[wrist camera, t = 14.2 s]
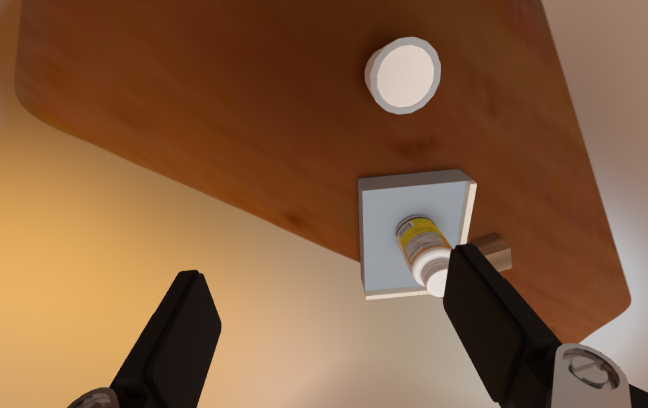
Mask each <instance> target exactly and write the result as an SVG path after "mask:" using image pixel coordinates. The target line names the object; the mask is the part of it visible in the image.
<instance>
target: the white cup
mask: <svg viewBox="0 0 648 408" xmlns="http://www.w3.org/2000/svg"><path fill="white" fill-rule="evenodd" d="M440 72H441V64H440V61H439V58H438V55H437V52H436V51H435V50H434V48H433V47H432V46H431V45H430V44H429V43H428V42H427V41H424V40H422V39H419V38H416V37H407V38H399V39H397V40H395V41H394V42H392V43H390V44H388V45H386V46H384V47H383V48H381V49H379V50H378V51H376V52H374V54H373V55H372V56H371V57H370V59H369V60H368V62H367V65H366V68H365V82H366V85H367V87H368V89H369V91H370V93H371V94H372V96H373V97H374V99H375V101H376V102H377V103H378V104H379V105H380V106H381V107H382V108H383V109H385V110H386V111H388V112H392V113H395V114H406V113H412V112H414V111H416V110H418V109H419V108H421V107H423V106H424V105H425V104H426V103H427V102H428V101H429V100H430V99H431V98H432V96H433V95H434V93H435V91H436V89H437V86H438V84H439V82H440Z"/></svg>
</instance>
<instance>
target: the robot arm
mask: <svg viewBox="0 0 648 408" xmlns="http://www.w3.org/2000/svg"><path fill="white" fill-rule="evenodd" d="M443 305H444V309H445V311H446V313H447V315H448V317H449V319H450V321H451V323H452V324H453V326H454V328H455V330H456V332H457V334H458V336H459V338H460V340H461V342H462V344H463V346H464V347H465V349H466V351H467V353H468V355H469V357H470V359H471V361H472V363H473V365H474V367H475V368H476V370H477V372H478V374H479V376H480V378H481V380H482V382H483V384H484V386H485V388H486V390H487V392H488V393H489V395H490V397H491V399H492V400H493V401H494V402H498V403H499V405H500V407H501V408H648V392H645V391H643V390H641V389H639V388H637V387H635V386H633V385H630V384H628V381H627V378H626V376H625V374H624V373H623V372H622V370H621V369H620V367H619V366H618V365H616V364H615V363H614V362H613V361H612V360H611V359H610V358H608V357H607V356H605V355H604V354H602V353H601V352H599V351H597V350H595V349H592V348H590V347H588V346H584V345H581V344H574V343H568V344H562V343H561V342H560V341H559V339H558V338H557V337H556V336H555V335H554V334H553V332H552V331H551V330H550V329H549V328H548V327H547V326H546V324H545V323H544V322H543V321H542V320H541V319H540V317H539V316H538V315H537V314H536V313H535V312H534V311H533V309H532V308H531V307H530V306H529V305H528V304H527V302H526V301H525V300H524V299H523V298H522V297H521V296H520V294H519V293H518V292H517V291H516V290H515V289H514V287H513V286H512V285H511V284H510V283H509V282H508V281H507V280H506V279H505V278H503V277H502V276H501V275H500V274H499V272H498V271H497V270H496V269H495V268H494V267H493V265H492V264H491V263H490V262H489V261H488V260H487V258H486V257H485V256H484V255H483V254H482V253H481V251H480V250H479V249H478V248H477V247H476V246H475V245H474V244H472V243H471V244H461V245H456V246H455V249H452V250H451V252H450V258H449V264H448V271H447V278H446V284H445V291H444V298H443ZM220 333H221V321H220V318H219V315H218V312H217V310H216V307H215V304H214V301H213V299H212V296H211V293H210V291H209V288H208V285H207V283H206V280H205V277H204V275H203V274H202V273H199V272H198V271H197V270H189V271H181V272H179V273H178V275H177V276H176V278H175V280H174V281H173V283H172V285H171V286H170V288H169V290H168V291H167V293H166V295H165V296H164V298H163V300H162V301H161V303H160V305H159V306H158V308H157V310H156V312H155V313H154V314H153V315H152V317H151V318H150V320H149V322H148V323H147V325H146V327H145V328H144V330H143V332H142V333H141V335H140V337H139V338H138V340H137V342H136V343H135V345H134V347H133V348H132V350H131V352H130V353H129V355H128V356H127V358H126V360H125V361H124V363H123V365H122V366H121V368H120V370H119V371H118V373H117V375H116V377H115V378H114V380H113V382H112V383H111V385H110V387H109V388H108V387H104V388H103V387H102V388H97V389H94V390H91V391H89V392H87V393H85V394H83V395H82V396H80V397H79V398H78V399H76V400H75V401H74V402H72V403H71V404H70V405H69V406H68V407H67V408H196V407H197V404H198V401H199V398H200V395H201V392H202V389H203V386H204V383H205V379H206V376H207V373H208V370H209V367H210V364H211V361H212V358H213V355H214V351H215V348H216V345H217V342H218V339H219V336H220Z"/></svg>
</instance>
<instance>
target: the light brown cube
mask: <svg viewBox="0 0 648 408" xmlns="http://www.w3.org/2000/svg"><path fill="white" fill-rule="evenodd" d="M471 243H472V244H474V245H475V246H476V247H477V248H478V249H479V250H480V251H481V253H482V254H483V255H484V256H485V257H486V258H487V260H488V261H489V262H490V263H491V264H492V265H493V267H494V268H495V269H496V270H497V271H498V272H500V271H503V270H506V269H510V268H512V259H511V248H510V247H509V246H508V245H507V244H506V243H505V242H504V241H503V240H502V239H501V238H500V237H499V236H498V235H497V234H496V233H493V234H490V235H487V236H484V237H481V238H478V239H474V240H471V241H470V244H471Z"/></svg>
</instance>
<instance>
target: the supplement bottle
mask: <svg viewBox="0 0 648 408" xmlns="http://www.w3.org/2000/svg"><path fill="white" fill-rule="evenodd" d="M396 241H397V243H398V245H399V248H400V250H401V252H402V254H403V256H404V259H405V261H406V263H407V265H408V267H409V270H410V272H411V274H412V276H413V278H414V280H415V281H416V282H417V283H418V284H420V285H422V286H424V287H426V289H427V291H428V292H429V293H430V294H431V295H433V296H437V297H444V291H445V284H446V278H447V271H448V264H449V258H450V252H451V250H452V249H453V248H452V247H451V245H450V244H449V243H448V241H447V240H446V238H445V237H444V236H443V234H442V233H441V232H440V230H439V229H438V228H437V226H436V225H435V224H434V222H433V221H432V220H431V219H429V218H427V217H425V216H412V217H409V218H407V219H405V220H404V221H403V222H401V223H400V225H399V226H398V228H397V230H396Z"/></svg>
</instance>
